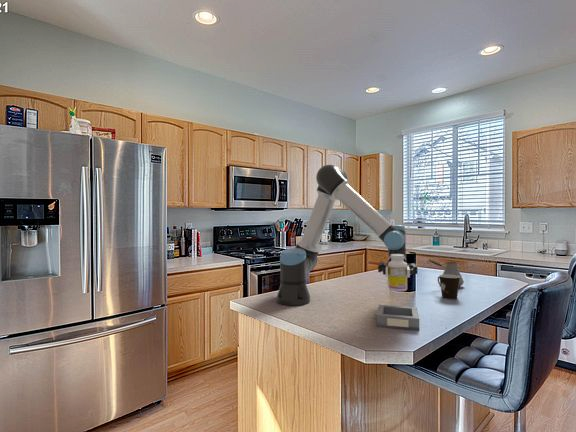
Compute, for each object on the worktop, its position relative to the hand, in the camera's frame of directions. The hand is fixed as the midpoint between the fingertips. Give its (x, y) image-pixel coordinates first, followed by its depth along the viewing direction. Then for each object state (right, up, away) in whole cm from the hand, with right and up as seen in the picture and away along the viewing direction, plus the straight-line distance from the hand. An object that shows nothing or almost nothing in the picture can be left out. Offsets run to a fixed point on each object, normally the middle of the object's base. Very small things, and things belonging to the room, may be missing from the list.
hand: (397, 273), depth 118 cm
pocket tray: (+2, -19, +5) cm, 19 cm away
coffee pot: (+45, -18, +61) cm, 78 cm away
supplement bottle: (+2, -7, +5) cm, 9 cm away
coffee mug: (+37, -18, +41) cm, 58 cm away
